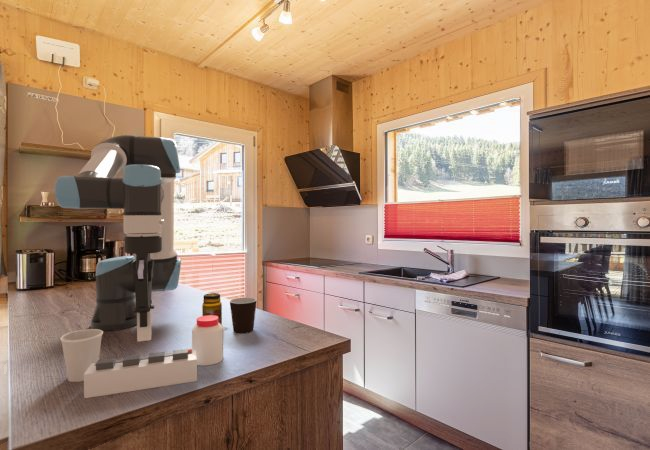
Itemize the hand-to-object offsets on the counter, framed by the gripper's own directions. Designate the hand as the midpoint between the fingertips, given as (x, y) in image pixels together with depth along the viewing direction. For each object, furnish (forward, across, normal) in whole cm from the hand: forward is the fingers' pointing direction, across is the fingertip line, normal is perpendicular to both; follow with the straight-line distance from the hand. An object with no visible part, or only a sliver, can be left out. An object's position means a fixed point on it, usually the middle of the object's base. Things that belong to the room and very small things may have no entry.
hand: (144, 339), depth 81 cm
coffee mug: (+10, +31, -27) cm, 42 cm away
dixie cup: (+10, +9, +14) cm, 19 cm away
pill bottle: (+10, +9, -14) cm, 19 cm away
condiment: (+10, +34, -16) cm, 39 cm away
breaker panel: (+10, 0, 0) cm, 10 cm away
